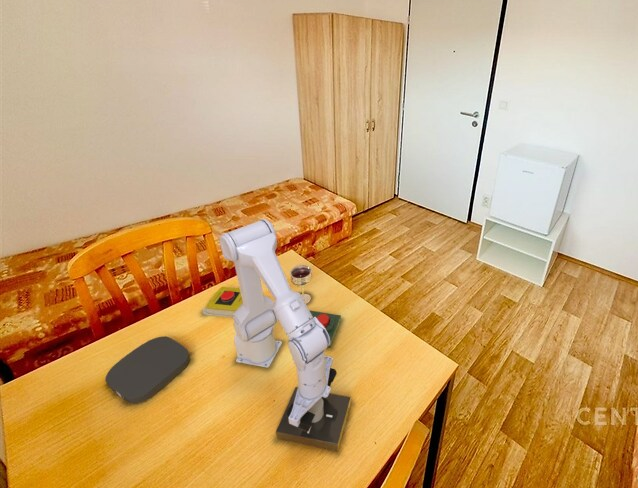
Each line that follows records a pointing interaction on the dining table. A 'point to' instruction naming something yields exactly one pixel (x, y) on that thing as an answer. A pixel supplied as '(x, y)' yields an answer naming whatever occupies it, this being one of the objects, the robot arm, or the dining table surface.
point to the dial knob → (317, 410)
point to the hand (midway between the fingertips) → (314, 410)
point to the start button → (323, 319)
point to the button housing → (332, 326)
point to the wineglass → (301, 279)
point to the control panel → (318, 424)
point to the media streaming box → (147, 369)
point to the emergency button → (224, 302)
